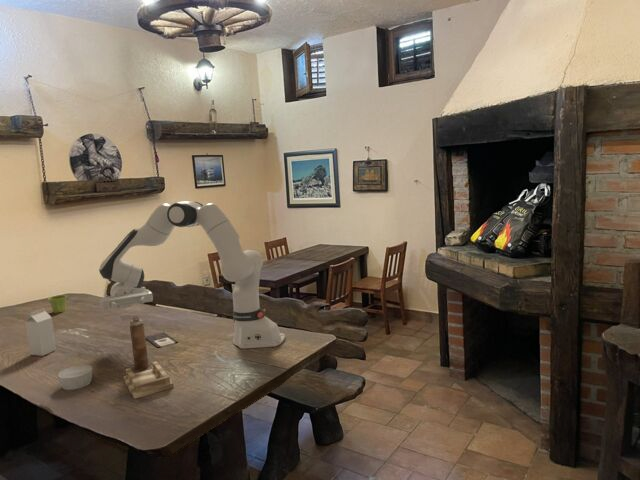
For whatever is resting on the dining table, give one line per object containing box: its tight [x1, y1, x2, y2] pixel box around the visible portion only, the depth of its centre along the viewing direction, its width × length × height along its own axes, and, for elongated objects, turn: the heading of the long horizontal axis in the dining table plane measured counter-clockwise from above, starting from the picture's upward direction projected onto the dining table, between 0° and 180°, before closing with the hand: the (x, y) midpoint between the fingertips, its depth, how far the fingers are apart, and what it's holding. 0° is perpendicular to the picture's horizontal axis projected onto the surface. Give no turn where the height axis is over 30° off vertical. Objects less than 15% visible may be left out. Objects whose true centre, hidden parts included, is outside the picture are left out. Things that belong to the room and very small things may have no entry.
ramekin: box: [57, 364, 93, 391], centre depth 168 cm, size 11×11×5 cm
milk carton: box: [24, 307, 57, 357], centre depth 203 cm, size 7×7×19 cm
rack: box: [123, 361, 175, 399], centre depth 165 cm, size 18×13×4 cm
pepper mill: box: [129, 315, 149, 371], centre depth 180 cm, size 5×5×20 cm
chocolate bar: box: [145, 331, 179, 349], centre depth 211 cm, size 9×1×18 cm
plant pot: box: [47, 294, 68, 314], centre depth 271 cm, size 9×9×9 cm
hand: (129, 303), depth 189 cm, fingers open, 8 cm apart
